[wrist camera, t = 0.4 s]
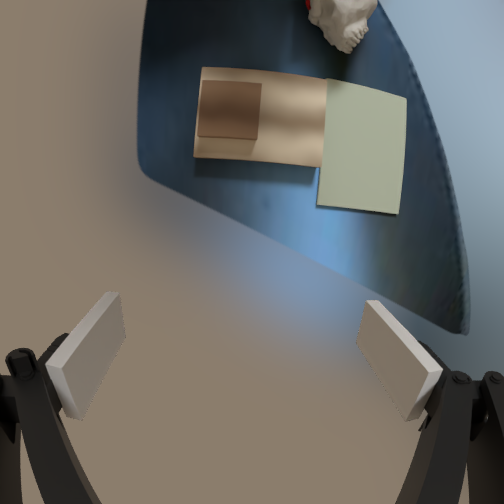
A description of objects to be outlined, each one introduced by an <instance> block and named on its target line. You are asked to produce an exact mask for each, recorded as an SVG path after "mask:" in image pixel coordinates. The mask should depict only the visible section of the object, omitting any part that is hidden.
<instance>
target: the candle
mask: <svg viewBox="0 0 504 504" xmlns="http://www.w3.org/2000/svg"><path fill="white" fill-rule="evenodd" d="M306 6H307V9H308V10H309V16H308V19H309V20H310V22H311V23H312V24H314V25H317V26H318V27H320V29H321V30H322V31H323V33H324V38H326V39H327V40H328V42H329V43H330V44H331V45H335V46H336V47H337V49H338V50H340V51H343V52H345V53H349V54H350V53H351V52H350V51H352V50H353V49H352V47H355V46H356V45H357V44H358V43H359V42H360V40H359V39H363V37H364V34H365V33H366V32H367V31H368V28H367V22H366V20H367V19H368V18H369V17H370V16H371V15H372V13H373V11H374V10H375V8H376V6H377V0H306ZM356 43H357V44H356Z"/></svg>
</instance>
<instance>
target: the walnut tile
mask: <svg viewBox="0 0 504 504" xmlns="http://www.w3.org/2000/svg"><path fill="white" fill-rule="evenodd" d="M261 89H262V83H252V82H238V81H219V80H202V89H201V98H200V108H199V119H198V130H197V136H198V137H204V138H226V139H242V140H255V141H256V140H257V139H258V126H259V114H260V102H261Z"/></svg>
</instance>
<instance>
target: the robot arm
mask: <svg viewBox="0 0 504 504" xmlns="http://www.w3.org/2000/svg"><path fill="white" fill-rule="evenodd" d="M125 338H126V335H125V328H124V322H123V315H122V307H121V300H120V293H117V292H106V293H105V294H104V295H103V296H102V298H101V299H100V300H99V301H98V302H97V303H96V304H95V305H94V306H93V308H92V309H91V310H90V311H89V312H88V313H87V314H86V316H85V317H84V318H83V319H82V320H81V321H80V323H79V324H78V325H77V326H76V327H75V328H74V330H73V331H72V332H71V333H70V334H68V333H64V334H62V335H61V336H59V337H57V338H56V339H55V341H54V342H53V343H52V344H51V346H49V347H48V348H47V351H45V352H44V353H43V354H42V356H41V357H40V358H39V359H38V361H37V360H36V357H35V354H34V353H33V351H32V350H30V349H28V348H19V349H15V350H13V351H11V352H10V353H9V354H8V355H7V356H6V359H5V362H6V364H7V367H8V369H9V372H10V374H11V376H9V375H8V376H7V375H0V504H23V503H22V492H21V476H20V475H21V473H20V439H21V430H22V434H23V439H24V443H25V446H26V450H27V454H28V457H29V461H30V464H31V467H32V470H33V473H34V476H35V479H36V482H37V485H38V488H39V490H40V493H41V496H42V498H43V501H44V503H45V504H102V503H101V502H100V500H99V498H98V497H97V495H96V493H95V492H94V490H93V488H92V486H91V484H90V482H89V481H88V478H87V476H86V474H85V472H84V470H83V469H82V467H81V464H80V462H79V460H78V458H77V456H76V454H75V452H74V449H73V447H72V445H71V443H70V440H69V438H68V435H67V433H66V431H65V428H64V425H63V423H62V420H61V418H60V415H59V411H60V410H61V408H63V410H64V412H65V414H66V416H67V417H70V418H73V419H78V420H81V421H82V420H83V418H84V416H85V414H86V412H87V410H88V408H89V406H90V404H91V402H92V400H93V398H94V396H95V394H96V392H97V390H98V388H99V386H100V384H101V382H102V380H103V378H104V376H105V375H106V373H107V371H108V369H109V367H110V365H111V363H112V362H113V360H114V358H115V356H116V354H117V352H118V350H119V349H120V347H121V345H122V343H123V341H124V340H125ZM356 344H357V345H358V347H359V349H360V350H361V352H362V353H363V355H364V356H365V358H366V359H367V361H368V363H369V364H370V366H371V367H372V369H373V371H374V372H375V374H376V375H377V377H378V379H379V380H380V382H381V383H382V385H383V387H384V388H385V390H386V391H387V393H388V394H389V396H390V398H391V399H392V401H393V403H394V404H395V406H396V408H397V409H398V411H399V413H400V414H401V416H402V417H403V419H404V421H405V422H406V421H410V420H414V419H418V418H419V417H420V415H421V413H422V411H423V410H424V408H425V410H426V411H427V413H428V415H427V416H426V418H425V420H424V422H423V423H422V425H421V427H420V429H419V430H418V431H421V430H422V431H421V435H420V438H419V442H418V445H417V448H416V451H415V454H414V457H413V460H412V463H411V465H410V468H409V471H408V474H407V476H406V479H405V481H404V484H403V487H402V489H401V492H400V494H399V496H398V498H397V501H396V503H395V504H458V502H459V497H460V493H461V489H462V484H463V479H464V474H465V468H466V462H467V471H468V484H469V504H504V377H503V376H502V375H501V374H500V373H498V372H494V371H488V372H486V373H485V375H484V377H483V379H482V381H472V379H471V378H470V377H469V376H468V375H467V374H466V373H463V372H460V371H451V370H450V369H449V368H448V367H447V366H446V365H445V364H444V363H443V361H441V359H440V358H439V357H437V355H436V354H435V353H434V352H433V351H432V350H431V349H430V348H429V347H428V346H427V345H426V344H424V343H422V342H421V341H416V339H415V338H414V337H413V336H412V335H411V334H410V333H409V332H408V331H407V330H406V329H405V328H404V327H403V326H402V325H401V324H400V323H399V322H398V321H397V319H396V318H395V317H394V316H393V315H392V314H391V313H390V312H389V311H388V310H387V309H386V308H385V307H384V306H383V305H382V304H381V303H380V302H379V301H378V300H372V301H371V300H368V301H366V302H365V307H364V311H363V316H362V320H361V324H360V329H359V332H358V336H357V340H356ZM487 417H488V420H487Z"/></svg>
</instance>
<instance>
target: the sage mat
mask: <svg viewBox="0 0 504 504" xmlns="http://www.w3.org/2000/svg"><path fill="white" fill-rule="evenodd" d="M326 80H327V96H326V115H325V130H324V144H323V157H322V167H320V172H319V183H318V193H317V203H316V204H317V205H326V206H335V207H344V208H353V209H362V210H370V211H378V212H386V213H393V214H398V212H399V205H400V197H401V188H402V178H403V167H404V154H405V137H406V98H403V97H400V96H396V95H393V94H390V93H386V92H383V91H379V90H376V89H372V88H368V87H364V86H360V85H356V84H352V83H348V82H343V81H339V80H334V79H329V78H326Z"/></svg>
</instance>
